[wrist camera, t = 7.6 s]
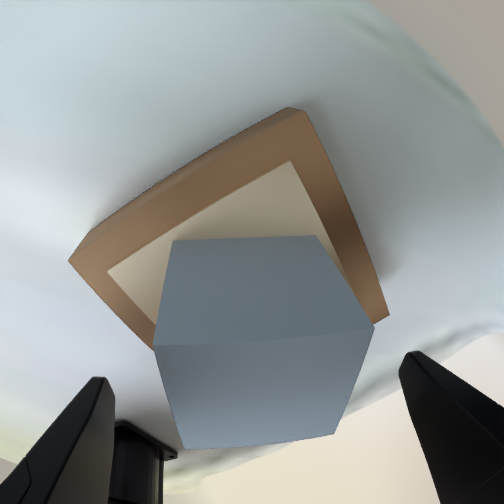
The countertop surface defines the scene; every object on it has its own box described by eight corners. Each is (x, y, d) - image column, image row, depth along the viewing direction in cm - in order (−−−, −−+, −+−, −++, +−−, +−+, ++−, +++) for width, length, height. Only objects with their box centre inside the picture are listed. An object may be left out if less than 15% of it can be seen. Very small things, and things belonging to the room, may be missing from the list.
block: (315, 235, 11) (374, 327, 7) (301, 338, 14) (333, 434, 9) (172, 240, 11) (152, 344, 6) (186, 346, 13) (184, 449, 9)
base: (369, 285, 16) (391, 316, 14) (209, 366, 18) (210, 402, 15) (287, 107, 12) (306, 111, 9) (87, 232, 13) (66, 262, 11)
